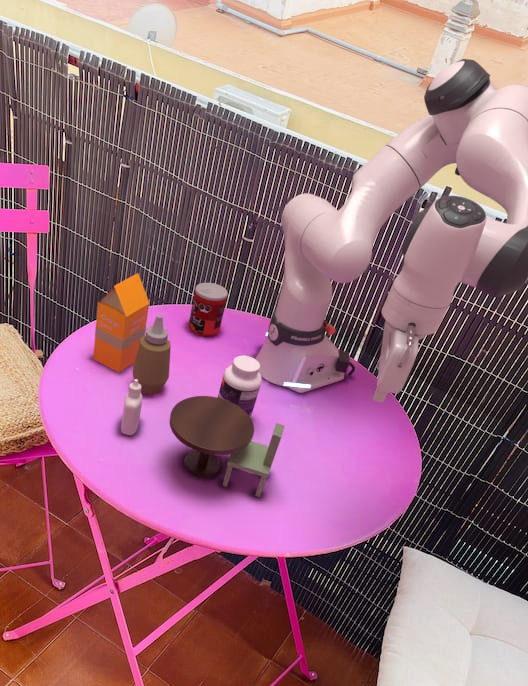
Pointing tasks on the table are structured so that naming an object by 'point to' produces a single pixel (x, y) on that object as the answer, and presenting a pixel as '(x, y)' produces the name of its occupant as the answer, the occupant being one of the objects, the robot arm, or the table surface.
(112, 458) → the table surface
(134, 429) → the eye dropper bottle
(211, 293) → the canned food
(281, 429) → the chair
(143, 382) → the squeeze bottle
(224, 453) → the little table
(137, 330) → the orange juice
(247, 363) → the pill bottle
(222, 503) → the table surface
